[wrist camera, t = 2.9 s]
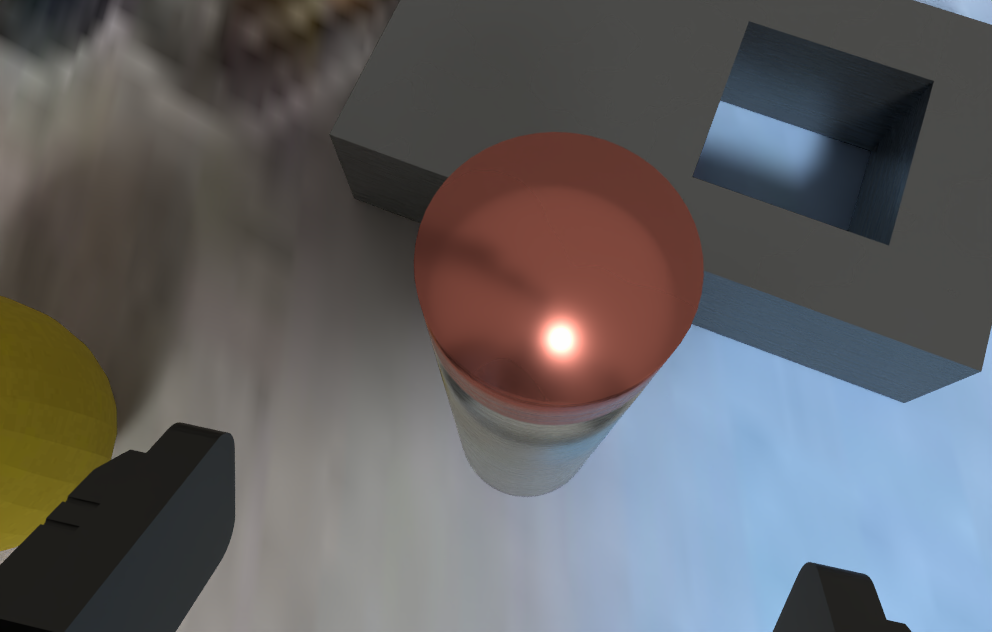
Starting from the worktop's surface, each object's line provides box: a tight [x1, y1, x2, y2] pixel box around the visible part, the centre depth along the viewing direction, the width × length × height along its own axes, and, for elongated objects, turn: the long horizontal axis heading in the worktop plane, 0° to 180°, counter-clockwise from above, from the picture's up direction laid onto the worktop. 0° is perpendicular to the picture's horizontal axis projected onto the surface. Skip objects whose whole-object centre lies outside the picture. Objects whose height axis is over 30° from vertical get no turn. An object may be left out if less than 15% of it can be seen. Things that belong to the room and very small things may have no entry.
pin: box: [414, 132, 704, 497], centre depth 15 cm, size 3×3×12 cm
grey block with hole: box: [329, 0, 992, 403], centre depth 21 cm, size 16×9×4 cm, turn 68°
